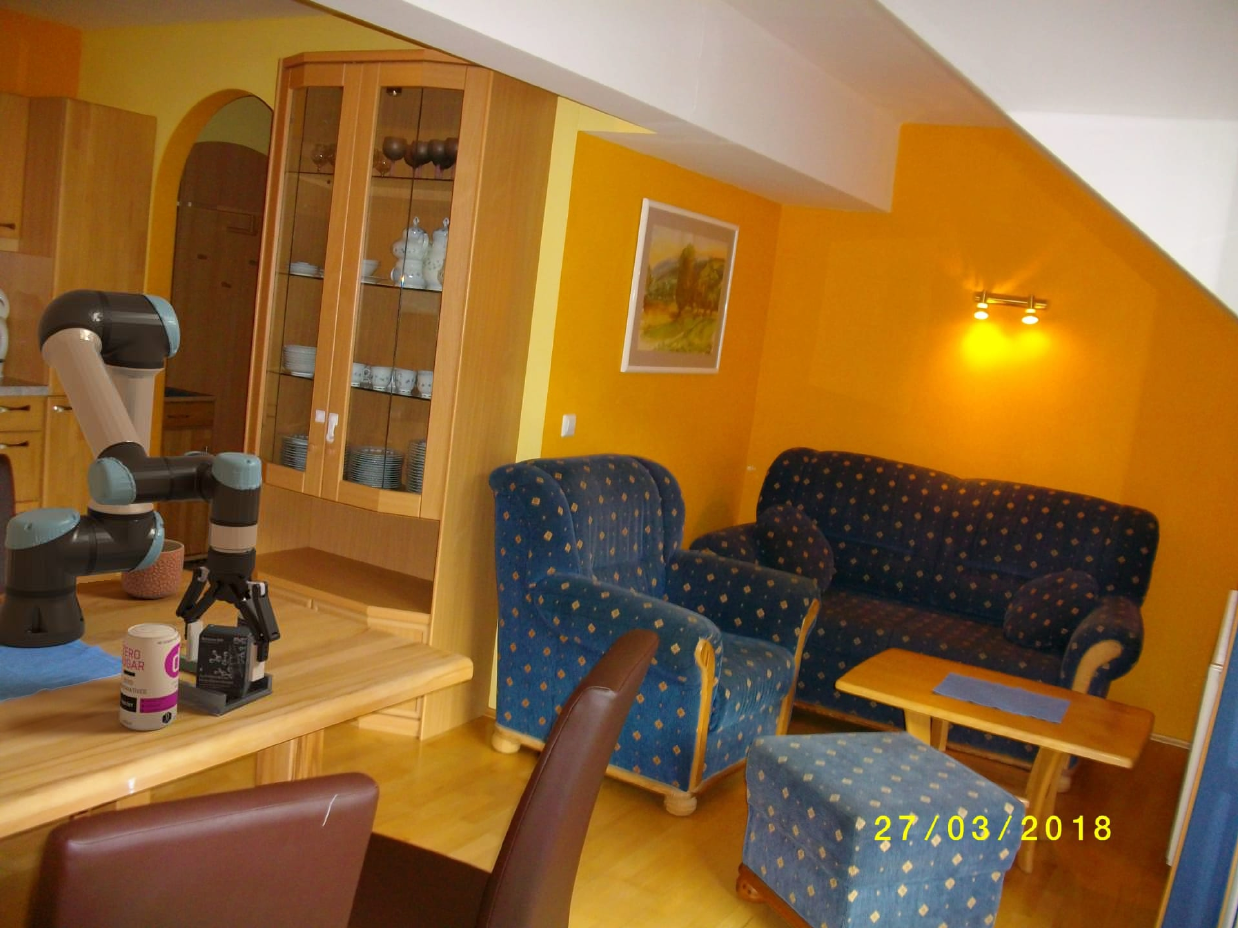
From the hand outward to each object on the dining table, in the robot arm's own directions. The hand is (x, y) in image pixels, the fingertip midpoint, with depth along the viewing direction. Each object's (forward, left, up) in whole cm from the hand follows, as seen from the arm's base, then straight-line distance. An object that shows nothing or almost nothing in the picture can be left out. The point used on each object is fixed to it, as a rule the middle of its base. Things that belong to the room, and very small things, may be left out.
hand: (224, 669), depth 176 cm
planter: (-51, +33, -5) cm, 61 cm away
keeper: (0, 0, -5) cm, 5 cm away
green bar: (-14, +6, -5) cm, 16 cm away
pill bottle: (-13, +21, -5) cm, 25 cm away
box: (0, 0, -4) cm, 4 cm away
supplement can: (-2, -14, -5) cm, 15 cm away
